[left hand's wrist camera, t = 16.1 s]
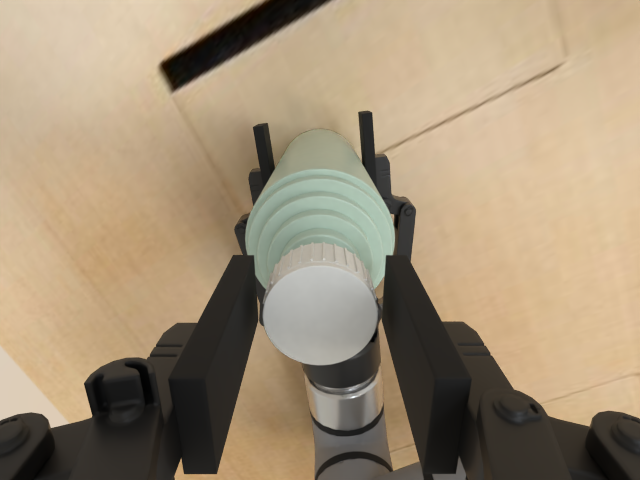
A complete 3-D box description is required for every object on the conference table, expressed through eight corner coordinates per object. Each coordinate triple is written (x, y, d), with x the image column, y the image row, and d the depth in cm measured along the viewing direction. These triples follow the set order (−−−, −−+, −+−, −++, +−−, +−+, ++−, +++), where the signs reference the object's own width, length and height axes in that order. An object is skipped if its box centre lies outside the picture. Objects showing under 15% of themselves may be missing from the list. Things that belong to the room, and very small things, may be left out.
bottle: (364, 197, 38) (438, 378, 14) (291, 211, 39) (245, 409, 15) (351, 121, 36) (414, 184, 12) (273, 138, 36) (182, 231, 12)
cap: (352, 225, 14) (357, 247, 12) (384, 315, 15) (394, 347, 13) (251, 260, 14) (241, 286, 12) (291, 344, 16) (287, 380, 14)
